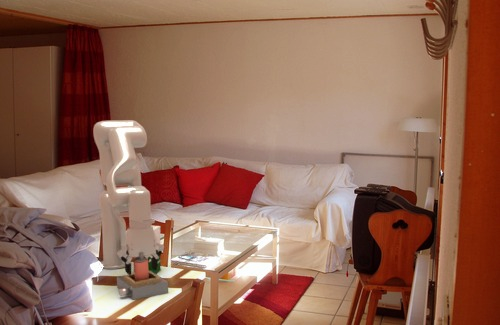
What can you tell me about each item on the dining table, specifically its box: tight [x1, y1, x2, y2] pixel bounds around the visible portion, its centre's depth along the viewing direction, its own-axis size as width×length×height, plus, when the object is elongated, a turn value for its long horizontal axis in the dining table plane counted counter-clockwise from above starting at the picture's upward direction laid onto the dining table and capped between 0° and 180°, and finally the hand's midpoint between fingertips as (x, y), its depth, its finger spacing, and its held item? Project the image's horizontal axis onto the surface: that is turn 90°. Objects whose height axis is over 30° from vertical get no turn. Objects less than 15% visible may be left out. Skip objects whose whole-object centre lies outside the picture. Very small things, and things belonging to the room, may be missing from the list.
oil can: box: [133, 253, 149, 281], centre depth 194 cm, size 5×5×13 cm
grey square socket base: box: [116, 271, 169, 301], centre depth 195 cm, size 16×16×5 cm
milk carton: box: [144, 225, 162, 274], centre depth 217 cm, size 9×9×20 cm
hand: (141, 271), depth 195 cm, fingers open, 9 cm apart
